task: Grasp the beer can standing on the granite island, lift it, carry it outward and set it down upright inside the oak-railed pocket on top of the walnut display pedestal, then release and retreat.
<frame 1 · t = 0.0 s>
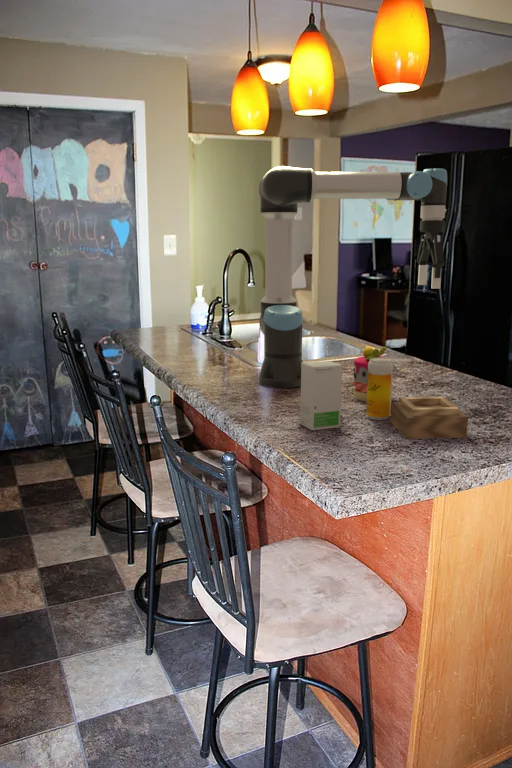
hand: (428, 286, 215), 28 cm above the worktop, fingers open, 13 cm apart
beer can: (378, 417, 168), on the worktop
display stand: (426, 429, 157), on the worktop
cake: (371, 397, 187), on the worktop
skincare box: (319, 426, 161), on the worktop
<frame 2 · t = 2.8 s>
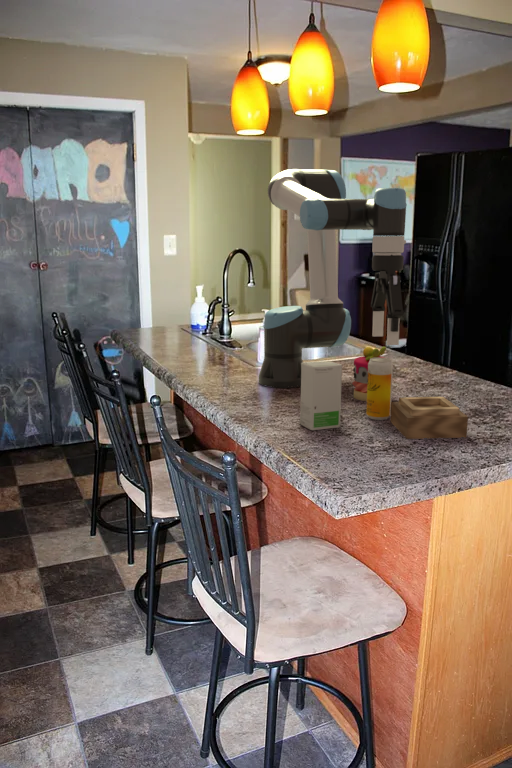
hand: (384, 340, 165), 19 cm above the worktop, fingers open, 13 cm apart
nothing on the worktop moved.
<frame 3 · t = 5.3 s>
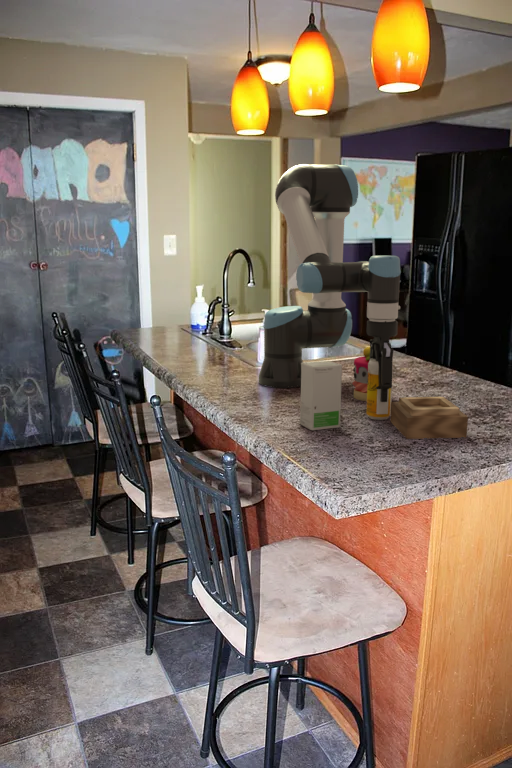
hand: (378, 409, 167), 2 cm above the worktop, fingers closed on beer can, 6 cm apart
beer can: (378, 417, 168), on the worktop, touching gripper
everything else where it was.
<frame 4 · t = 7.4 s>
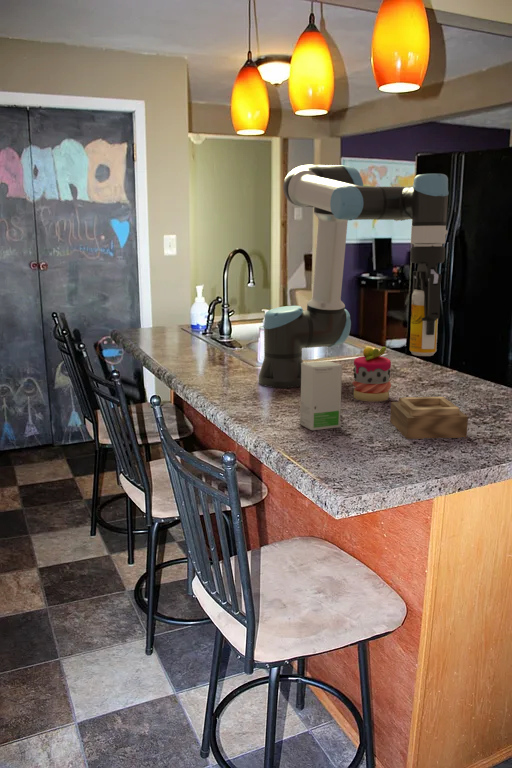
hand: (423, 346, 154), 20 cm above the worktop, fingers closed on beer can, 6 cm apart
beer can: (422, 354, 154), point 18 cm above the worktop, touching gripper
everything else where it was.
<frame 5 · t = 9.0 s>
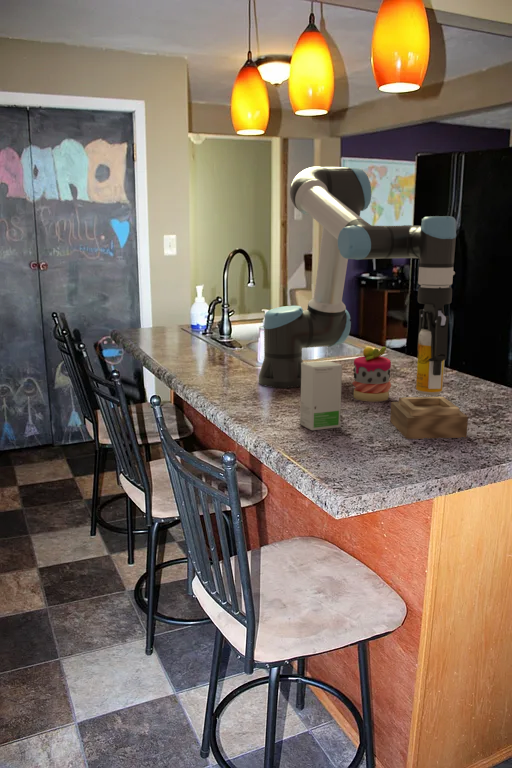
hand: (429, 384, 155), 11 cm above the worktop, fingers closed on beer can, 6 cm apart
beer can: (429, 393, 155), point 9 cm above the worktop, touching gripper
everything else where it was.
when the fingers open (9 cm above the worktop, at t = 9.8 s): beer can drops 2 cm, resting on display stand.
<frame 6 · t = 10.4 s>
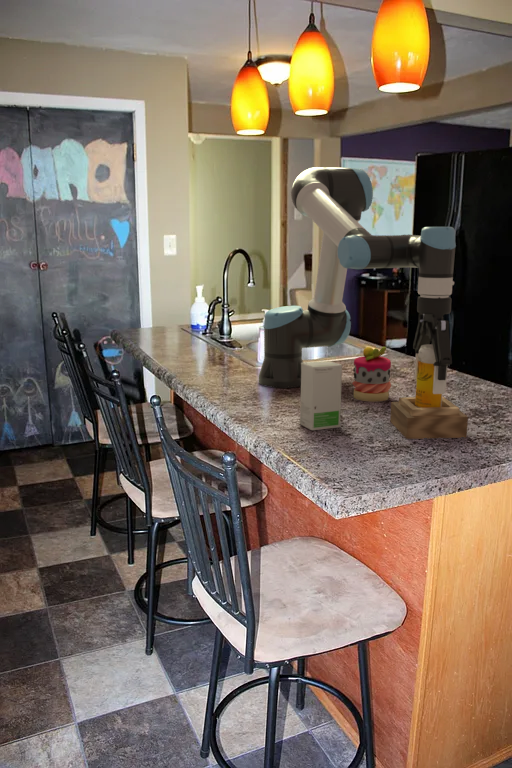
hand: (429, 386, 155), 10 cm above the worktop, fingers open, 13 cm apart
beer can: (427, 409, 156), point 5 cm above the worktop, touching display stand
everything else where it was.
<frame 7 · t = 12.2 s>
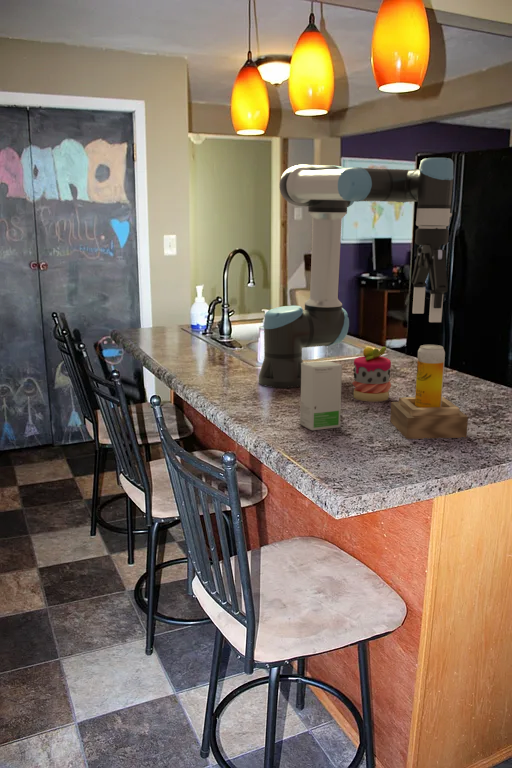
hand: (426, 317, 160), 26 cm above the worktop, fingers open, 13 cm apart
nothing on the worktop moved.
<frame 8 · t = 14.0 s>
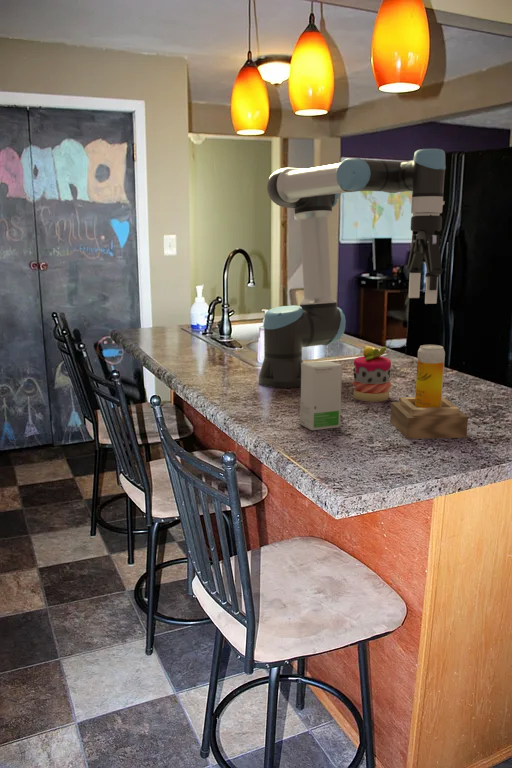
hand: (421, 300, 168), 29 cm above the worktop, fingers open, 13 cm apart
nothing on the worktop moved.
at the end: beer can inside the target area on the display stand (0.1 cm from its centre), point 4.8 cm above the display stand's base; beer can tilted 1°; the gripper is holding nothing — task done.
